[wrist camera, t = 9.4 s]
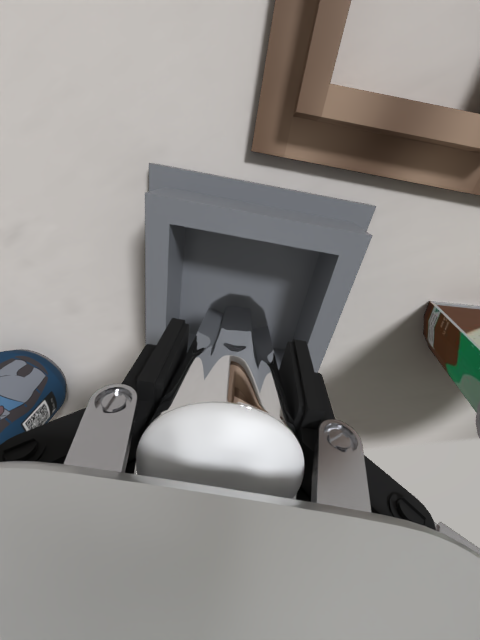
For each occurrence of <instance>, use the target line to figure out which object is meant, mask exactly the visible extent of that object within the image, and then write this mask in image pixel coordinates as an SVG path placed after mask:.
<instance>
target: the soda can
mask: <svg viewBox="0 0 480 640" xmlns="http://www.w3.org/2000/svg"><path fill="white" fill-rule="evenodd" d="M65 393H66V379H65V376H64V374H63V372H62V371H61V369H60V368H59V367H58V366H57V365H56V364H55V363H54V362H53V361H52V360H50V359H49V358H47V357H45V356H44V355H42V354H39V353H37V352H34V351H30V350H11V351H4V352H0V445H1V444H2V443H3V442H5V441H6V440H8V439H10V438H12V437H14V436H16V435H18V434H20V433H23V432H25V431H28V430H31V429H33V428H36V427H38V426H41V425H43V424H46V423H48V422H49V420H50V419H51V418H52V417H53V416H54V414H55V413H56V412H57V411H58V410H59V408H60V407H61V406H62V404H63V402H64V399H65Z"/></svg>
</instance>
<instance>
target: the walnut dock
mask: <svg viewBox="0 0 480 640" xmlns="http://www.w3.org/2000/svg"><path fill="white" fill-rule="evenodd" d="M350 3H351V0H275V5H274V12H273V18H272V24H271V30H270V37H269V43H268V49H267V55H266V62H265V68H264V74H263V80H262V87H261V93H260V99H259V105H258V112H257V118H256V124H255V130H254V137H253V143H252V149H251V151H253V152H258V153H263V154H268V155H273V156H278V157H284V158H289V159H294V160H299V161H304V162H309V163H314V164H320V165H325V166H330V167H335V168H340V169H345V170H351V171H356V172H361V173H366V174H371V175H376V176H381V177H387V178H392V179H397V180H402V181H407V182H412V183H417V184H423V185H428V186H433V187H438V188H443V189H448V190H453V191H459V192H464V193H469V194H474V195H479V196H480V114H478V113H473V112H468V111H463V110H458V109H453V108H448V107H443V106H438V105H433V104H428V103H423V102H418V101H413V100H408V99H403V98H399V97H394V96H389V95H384V94H379V93H374V92H369V91H364V90H359V89H354V88H349V87H344V86H339V85H334V84H330V82H331V78H332V74H333V70H334V66H335V62H336V58H337V54H338V50H339V46H340V42H341V39H342V35H343V31H344V27H345V23H346V19H347V15H348V11H349V7H350Z"/></svg>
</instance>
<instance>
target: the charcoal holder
mask: <svg viewBox="0 0 480 640" xmlns="http://www.w3.org/2000/svg"><path fill="white" fill-rule="evenodd" d="M375 208H376V206H373V205H369V204H364V203H358V202H353V201H348V200H343V199H337V198H332V197H327V196H322V195H317V194H311V193H306V192H301V191H296V190H290V189H285V188H280V187H275V186H270V185H264V184H259V183H254V182H249V181H243V180H238V179H233V178H228V177H222V176H217V175H212V174H207V173H202V172H196V171H191V170H186V169H181V168H175V167H170V166H165V165H160V164H155V163H149V192H146V193H145V305H146V345H147V344H153V345H157V343H158V342H159V340H160V338H161V336H162V335H163V333H164V331H165V329H166V328H167V326H168V324H169V322H170V320H171V319H172V318H177V319H182V320H185V323H186V324H189V337H188V348H187V352H188V350H189V348H190V346H191V344H192V342H193V339H194V337H195V335H196V333H197V331H198V329H199V327H200V324H201V322H202V320H203V318H204V316H205V314H206V312H207V310H208V308H209V306H210V304H211V302H212V301H214V300H216V299H218V298H220V297H222V296H225V295H227V294H229V293H232V294H238V295H245V296H250V297H251V298H252V299H253V300H254V301H255V302H257V303H258V304H259V305H260V306H261V307H262V308H263V309H264V311H265V315H266V320H267V324H268V328H269V332H270V337H271V341H272V345H273V349H274V354H275V358H276V362H277V366H278V370H279V368H280V365H281V362H282V358H283V355H284V352H285V349H286V345H287V343H288V341H289V342H292V340H293V339H296V340H302V341H306V342H307V345H308V349H309V353H310V357H311V360H312V364H313V368H314V372H316V373H318V370H319V368H320V365H321V363H322V360H323V358H324V355H325V353H326V350H327V348H328V345H329V343H330V340H331V338H332V335H333V333H334V330H335V328H336V325H337V323H338V320H339V318H340V315H341V313H342V310H343V308H344V305H345V303H346V300H347V298H348V295H349V293H350V290H351V288H352V285H353V283H354V280H355V278H356V275H357V273H358V270H359V268H360V265H361V263H362V260H363V258H364V255H365V253H366V250H367V248H368V245H369V243H370V240H371V238H372V235H371V234H369V233H368V232H366V231H367V229H368V226H369V224H370V221H371V218H372V216H373V213H374V211H375Z"/></svg>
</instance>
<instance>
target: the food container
mask: <svg viewBox="0 0 480 640" xmlns="http://www.w3.org/2000/svg"><path fill="white" fill-rule="evenodd" d="M423 334H424V336H425V339H426V341H427V343H428V346H429V348H430V350H431V351H432V352H433V354H434V355H435V356H436V358H437V359H438V361H439V362H440V363H441V365H442V366H443V367H444V369H445V370H446V371H447V373H448V374H449V376H450V377H451V378H452V380H453V381H454V382H455V384H456V385H457V387H458V388H459V389H460V391H461V392H462V393H463V395H464V396H465V398H466V399H467V400H468V402H469V403H470V404H471V406H472V407H473V409H474V410H475V411H476V413H477V415H476V426H477V433H478V436H479V438H480V306H474V305H464V304H454V303H445V302H435V301H429V303H428V306H427V309H426V312H425V314H424V330H423Z"/></svg>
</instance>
